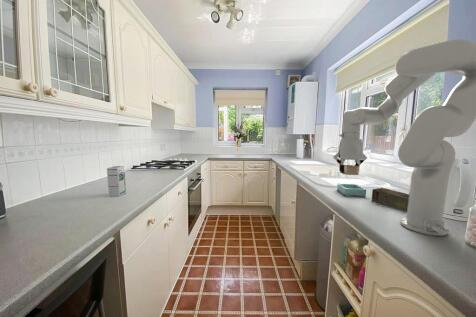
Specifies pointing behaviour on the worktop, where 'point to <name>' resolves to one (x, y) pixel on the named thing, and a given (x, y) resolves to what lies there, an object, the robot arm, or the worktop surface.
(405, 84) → the robot arm
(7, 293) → the worktop surface
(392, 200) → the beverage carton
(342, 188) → the box
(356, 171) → the small crate
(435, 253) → the worktop surface
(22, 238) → the worktop surface
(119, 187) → the syrup box
